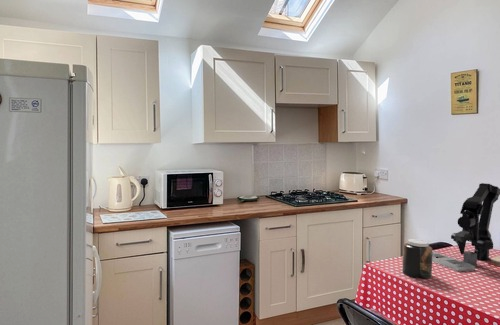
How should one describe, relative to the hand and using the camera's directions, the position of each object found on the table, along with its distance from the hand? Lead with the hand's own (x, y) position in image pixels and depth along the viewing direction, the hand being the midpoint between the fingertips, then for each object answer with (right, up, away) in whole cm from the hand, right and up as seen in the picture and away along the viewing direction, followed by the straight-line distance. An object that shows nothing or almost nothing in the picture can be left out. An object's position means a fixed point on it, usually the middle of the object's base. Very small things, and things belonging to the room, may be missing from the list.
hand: (470, 257), depth 176 cm
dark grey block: (0, -4, 0) cm, 4 cm away
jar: (-34, -4, -16) cm, 38 cm away
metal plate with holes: (-11, -3, +2) cm, 12 cm away
